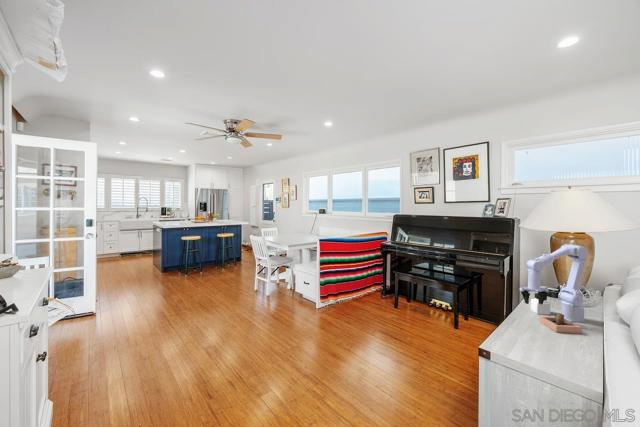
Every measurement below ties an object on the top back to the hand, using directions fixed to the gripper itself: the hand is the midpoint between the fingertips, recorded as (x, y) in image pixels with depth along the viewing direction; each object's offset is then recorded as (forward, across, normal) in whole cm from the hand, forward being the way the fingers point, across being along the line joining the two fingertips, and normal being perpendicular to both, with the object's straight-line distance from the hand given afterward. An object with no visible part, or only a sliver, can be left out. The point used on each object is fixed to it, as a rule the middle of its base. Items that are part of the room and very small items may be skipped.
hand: (533, 303), depth 156 cm
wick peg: (+9, +7, -10) cm, 15 cm away
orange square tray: (+9, +7, -10) cm, 15 cm away
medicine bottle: (+10, +12, +12) cm, 19 cm away
